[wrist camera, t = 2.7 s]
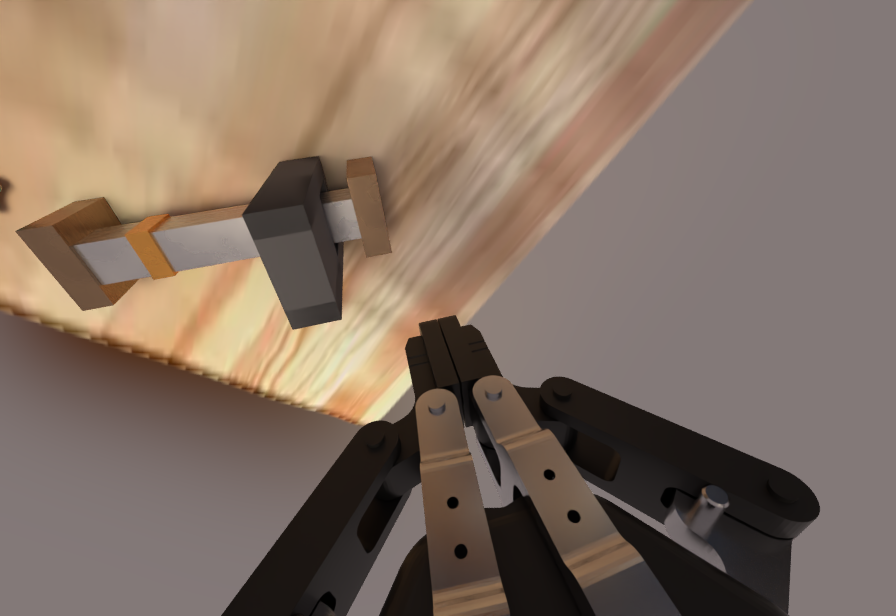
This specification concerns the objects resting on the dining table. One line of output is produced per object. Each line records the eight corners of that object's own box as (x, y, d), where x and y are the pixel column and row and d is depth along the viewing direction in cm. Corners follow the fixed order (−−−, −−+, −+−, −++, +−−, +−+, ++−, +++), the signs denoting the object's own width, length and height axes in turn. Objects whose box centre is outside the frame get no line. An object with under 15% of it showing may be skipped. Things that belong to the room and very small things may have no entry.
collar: (318, 156, 28) (302, 204, 18) (343, 243, 32) (341, 319, 23) (279, 162, 28) (241, 214, 18) (309, 249, 32) (292, 329, 22)
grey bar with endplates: (371, 156, 29) (375, 174, 25) (385, 225, 33) (392, 252, 28) (74, 201, 27) (15, 231, 22) (124, 272, 30) (82, 310, 25)
